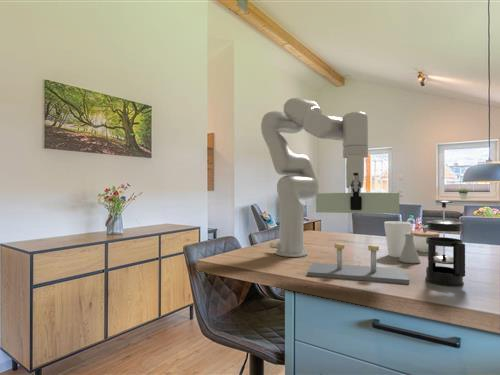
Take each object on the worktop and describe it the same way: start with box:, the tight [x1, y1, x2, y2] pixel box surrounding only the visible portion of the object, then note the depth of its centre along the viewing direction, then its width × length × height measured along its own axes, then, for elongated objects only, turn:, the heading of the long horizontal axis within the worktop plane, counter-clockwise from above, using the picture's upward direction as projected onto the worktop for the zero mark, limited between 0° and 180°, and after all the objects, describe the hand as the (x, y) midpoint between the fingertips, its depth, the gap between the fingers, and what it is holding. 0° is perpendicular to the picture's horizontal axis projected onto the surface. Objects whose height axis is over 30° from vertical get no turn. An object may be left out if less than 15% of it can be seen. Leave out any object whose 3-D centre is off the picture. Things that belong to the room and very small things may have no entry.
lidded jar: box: [410, 228, 441, 253], centre depth 139 cm, size 11×11×9 cm
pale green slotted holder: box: [315, 192, 400, 214], centre depth 103 cm, size 24×7×6 cm, turn 73°
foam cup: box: [383, 220, 412, 258], centre depth 129 cm, size 10×9×13 cm
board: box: [307, 243, 410, 285], centre depth 102 cm, size 28×13×9 cm, turn 72°
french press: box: [425, 200, 466, 287], centre depth 93 cm, size 12×9×23 cm
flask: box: [398, 233, 421, 264], centre depth 119 cm, size 7×7×10 cm
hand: (356, 208), depth 103 cm, fingers closed on pale green slotted holder, 7 cm apart
